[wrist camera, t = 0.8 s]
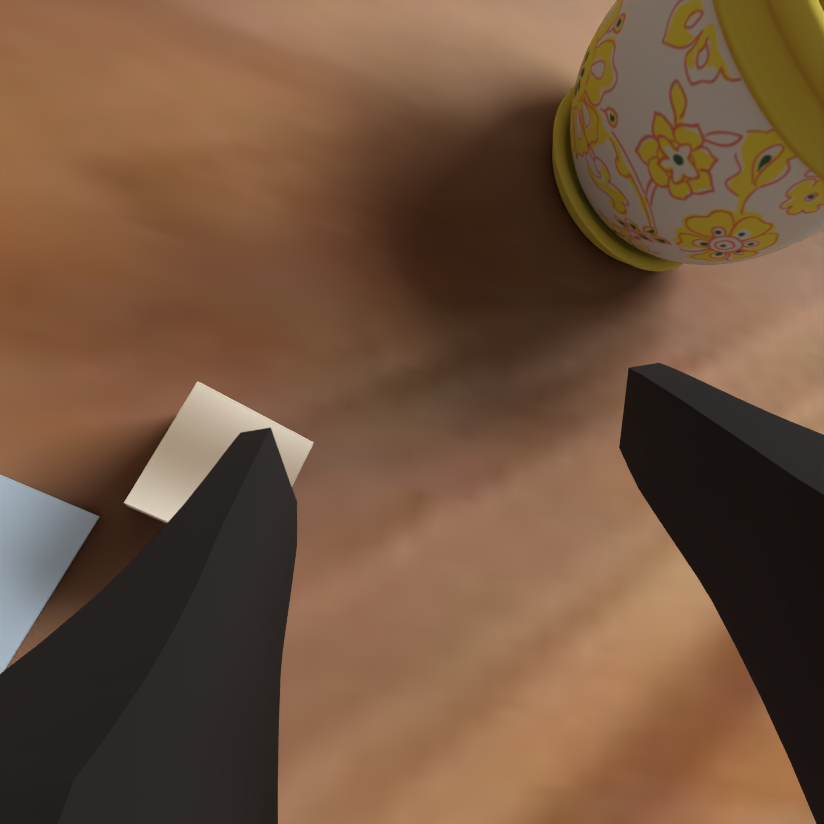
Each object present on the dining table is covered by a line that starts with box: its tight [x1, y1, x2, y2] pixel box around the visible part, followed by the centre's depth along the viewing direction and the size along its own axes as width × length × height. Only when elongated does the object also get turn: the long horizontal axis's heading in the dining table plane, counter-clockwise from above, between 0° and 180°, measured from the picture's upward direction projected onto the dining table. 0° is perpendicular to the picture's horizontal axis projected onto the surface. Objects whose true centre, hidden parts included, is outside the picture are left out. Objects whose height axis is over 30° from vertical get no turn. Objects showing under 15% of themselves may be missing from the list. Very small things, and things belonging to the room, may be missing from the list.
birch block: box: [124, 382, 314, 524], centre depth 21 cm, size 4×4×6 cm
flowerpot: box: [552, 0, 824, 271], centre depth 32 cm, size 18×18×16 cm
